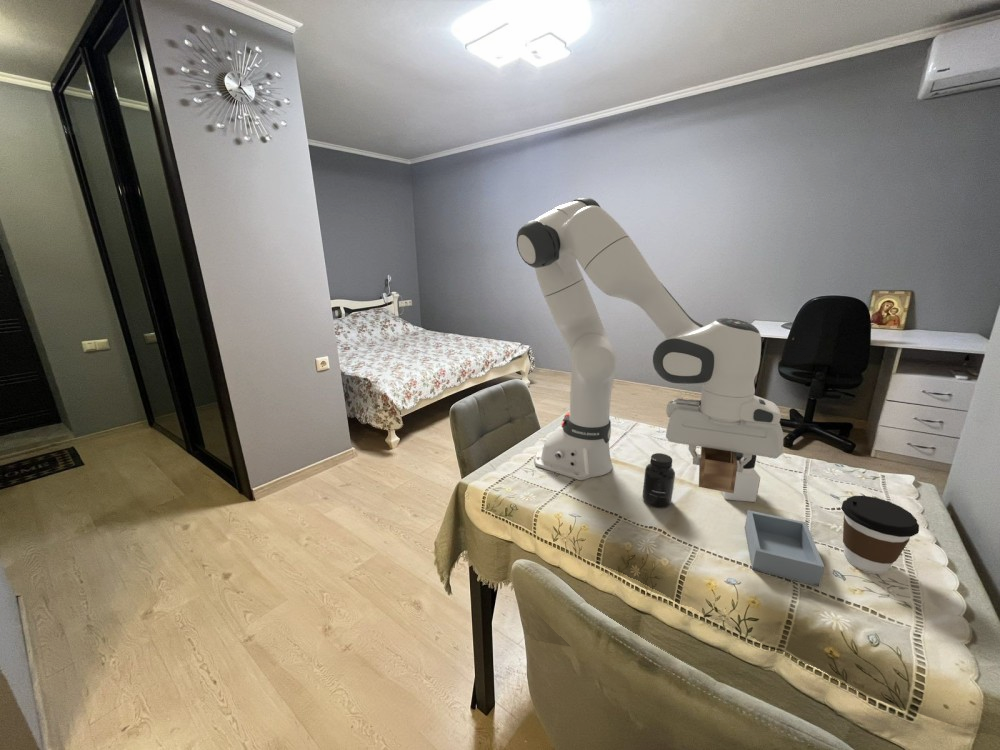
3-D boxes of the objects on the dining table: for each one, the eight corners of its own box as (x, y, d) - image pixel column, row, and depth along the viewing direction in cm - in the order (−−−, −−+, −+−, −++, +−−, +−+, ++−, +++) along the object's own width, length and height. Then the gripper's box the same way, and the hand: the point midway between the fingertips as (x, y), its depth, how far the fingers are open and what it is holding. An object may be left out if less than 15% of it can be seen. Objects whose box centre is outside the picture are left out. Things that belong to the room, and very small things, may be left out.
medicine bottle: (756, 502, 99) (764, 459, 95) (724, 499, 100) (731, 456, 96) (745, 486, 105) (752, 445, 102) (715, 484, 107) (722, 443, 103)
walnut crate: (698, 486, 79) (701, 459, 78) (699, 465, 87) (702, 440, 85) (733, 493, 77) (737, 465, 75) (730, 470, 85) (734, 444, 83)
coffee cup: (832, 569, 78) (846, 516, 74) (827, 536, 87) (839, 488, 83) (909, 593, 72) (929, 537, 69) (896, 556, 81) (912, 504, 77)
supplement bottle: (653, 511, 96) (658, 466, 93) (636, 495, 103) (640, 453, 99) (677, 505, 98) (683, 462, 95) (659, 490, 104) (664, 449, 101)
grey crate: (752, 569, 78) (755, 550, 77) (744, 527, 90) (747, 510, 89) (819, 586, 74) (824, 566, 73) (801, 540, 86) (806, 522, 84)
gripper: (666, 402, 79) (660, 464, 84) (791, 417, 71) (778, 485, 75) (668, 392, 85) (663, 451, 89) (785, 404, 76) (773, 469, 80)
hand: (716, 467), depth 82 cm, fingers closed on walnut crate, 6 cm apart
